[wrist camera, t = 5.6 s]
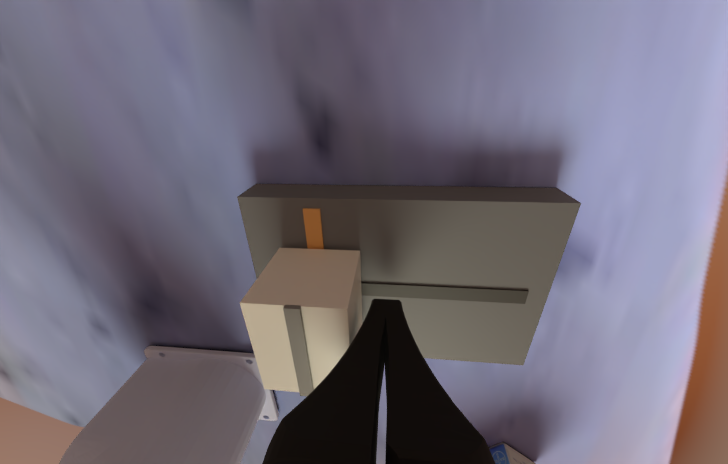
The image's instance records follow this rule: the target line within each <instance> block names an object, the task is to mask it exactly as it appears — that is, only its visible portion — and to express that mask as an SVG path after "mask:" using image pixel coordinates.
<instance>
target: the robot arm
mask: <svg viewBox="0 0 728 464" xmlns="http://www.w3.org/2000/svg"><path fill="white" fill-rule="evenodd" d="M144 353H145V355H146V357H147V360H146V361H145V362H144V363H143V364H142V365H141V366H140V367H139V368H138V369H137V371H136V372H135V373H134V374H133V375H132V376H131V377H130V378H129V379H128V380H127V382H126V383H125V384H124V385H123V386H122V387H121V388H120V389H119V390H118V391H117V392H116V394H115V395H114V396H113V397H112V398H111V399H110V400H109V401H108V402H107V403H106V405H105V406H104V407H103V408H102V409H101V410H100V411H99V412H98V413H97V414H96V416H95V417H94V418H93V419H92V420H91V421H90V422H89V423H88V424H87V425H86V426H85V428H84V429H83V430H82V431H81V432H80V433H79V434H78V436H77V437H76V438H75V439H74V441H73V442H72V443H71V445H70V446H69V448H68V449H67V451H66V452H65V454H64V456H63V457H62V459H61V461H60V463H59V464H240V462H241V460H242V458H243V455H244V453H245V450H246V448H247V445H248V443H249V441H250V438H251V436H252V433H253V431H254V429H255V426H256V424H257V421H258V420H268V421H276V420H277V419H278V416H279V413H278V409H277V405H276V401H275V398H274V394H273V390H269V389H264V386H263V383H262V379H261V376H260V372H259V369H258V365H257V362H256V358H255V355H254V353H242V352H229V351H216V350H202V349H189V348H176V347H163V346H148V347H147V348H146V349H145V350H144ZM384 364H385V376H386V395H387V431H386V464H495V461H494V459H493V456H492V454H491V452H490V449H489V447H488V445H487V443H486V441H485V439H484V438H483V437H482V435H481V434H480V433H479V432H478V431H477V430H476V429H475V428H474V427H473V425H472V424H471V423H470V422H469V421H468V420H467V419H466V417H465V416H464V415H463V414H462V413H461V411H460V410H459V409H458V408H457V406H456V405H455V404H454V403H453V401H452V400H451V398H450V397H449V396H448V394H447V393H446V392H445V390H444V389H443V388H442V386H441V385H440V383H439V382H438V380H437V379H436V377H435V376H434V374H433V373H432V371H431V369H430V368H429V366H428V365H427V363H426V361H425V359H424V358H423V356H422V354H421V352H420V350H419V348H418V346H417V344H416V342H415V340H414V338H413V335H412V333H411V331H410V329H409V326H408V323H407V321H406V318H405V315H404V312H403V308H402V302H401V301H400V300H391V299H373V300H372V302H371V306H370V308H369V311H368V313H367V315H366V318H365V320H364V322H363V324H362V326H361V327H360V329H359V331H358V333H357V335H356V336H355V338H354V339H353V341H352V343H351V344H350V346H349V347H348V349H347V350H346V352H345V353H344V355H343V356H342V357H341V359H340V360H339V361H338V363H337V364H336V365H335V367H334V368H333V369H332V370H331V371H330V373H329V374H328V375H327V376H326V377H325V378H324V380H323V381H322V382H321V383H320V384H319V385H318V386H317V387H316V388H315V389H314V390H313V391H312V392H311V393H310V394H309V395H308V396H307V397H306V398H305V399H304V400H303V401H302V402H301V403H300V404H299V405H298V406H296V407H295V408H294V409H293V410H292V411H291V412H290V413H289V414H287V415H286V416H285V417H284V418H283V419H282V421H281V422H280V424H279V426H278V428H277V430H276V432H275V434H274V436H273V438H272V440H271V442H270V444H269V447H268V449H267V452H266V455H265V458H264V461H263V464H376V452H377V431H378V412H379V401H380V394H381V386H382V379H383V371H384Z"/></svg>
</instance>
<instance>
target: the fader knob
mask: <svg viewBox="0 0 728 464" xmlns="http://www.w3.org/2000/svg"><path fill="white" fill-rule="evenodd" d="M240 306H241V309H242V313H243V316H244V320H245V323H246V327H247V330H248V334H249V337H250V341H251V344H252V348H253V351H254V355H255V358H256V362H257V365H258V369H259V372H260V376H261V379H262V383H263V386H264V389H269V390H281V391H292V392H300V396H308V395H309V394H310V393H311V392H312V391H313V390H314V389H315V388H316V387H317V386H318V385H319V384H320V383H321V382H322V381H323V380H324V378H325V377H326V376H327V375H328V374H329V373H330V371H331V370H332V369H333V368H334V367H335V365H336V364H337V363H338V361H339V360H340V359H341V357H342V356H343V355H344V353H345V352H346V350H347V349H348V347H349V346H350V344H351V343H352V341H353V339H354V338H355V336H356V335H357V333H358V331H359V329H360V327H361V326H362V294H361V260H360V251H357V250H329V249H302V248H279V249H278V251H277V252H276V253H275V255H274V256H273V257H272V259H271V260H270V262H269V263H268V264H267V266H266V267H265V269H264V270H263V271H262V273H261V274H260V275H259V277H258V278H257V280H256V281H255V282H254V284H253V285H252V287H251V288H250V289H249V291H248V292H247V294H246V295H245V296H244V298H243V299H242V300H241V302H240Z"/></svg>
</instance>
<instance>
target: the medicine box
mask: <svg viewBox="0 0 728 464" xmlns="http://www.w3.org/2000/svg"><path fill="white" fill-rule="evenodd" d="M489 449H490V452H491V454H492V456H493V459H494V461H495V464H535V463H534V462H532V461H531V460H529V459H528V458H526V457H525V456H523V455H522V454H520V453H519V452H517V451H516V450H514V449H513V448H511V447H510V446H508V445H507V444H505V443H503V442H501V443H499V444H497V445H494V446H492V447H489Z"/></svg>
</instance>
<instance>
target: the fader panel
mask: <svg viewBox="0 0 728 464" xmlns="http://www.w3.org/2000/svg"><path fill="white" fill-rule="evenodd" d="M237 198H238V202H239V206H240V210H241V214H242V219H243V223H244V227H245V231H246V235H247V240H248V244H249V248H250V252H251V256H252V261H253V265H254V269H255V273H256V277H257V278H258V277H259V275H260V274H261V273H262V271H263V270H264V269H265V267H266V266H267V264H268V263H269V262H270V260H271V259H272V257H273V256H274V255H275V253H276V252H277V251H278V249H279V248H302V249H329V250H357V251H360V260H361V294H362V324H363V322H364V320H365V318H366V315H367V313H368V311H369V308H370V306H371V302H372V300H373V299H391V300H400V301H401V302H402V308H403V312H404V315H405V318H406V321H407V323H408V326H409V329H410V331H411V333H412V335H413V338H414V340H415V342H416V344H417V346H418V348H419V350H420V352H421V354H422V356H423V358H431V359H445V360H459V361H472V362H486V363H500V364H514V365H523V364H524V362H525V359H526V356H527V353H528V350H529V348H530V345H531V342H532V339H533V336H534V333H535V331H536V328H537V325H538V322H539V319H540V317H541V314H542V311H543V308H544V305H545V303H546V300H547V297H548V294H549V291H550V289H551V286H552V283H553V280H554V277H555V275H556V272H557V269H558V266H559V263H560V261H561V258H562V255H563V252H564V249H565V247H566V244H567V241H568V238H569V235H570V233H571V230H572V227H573V224H574V221H575V219H576V216H577V213H578V210H579V207H580V205H581V203H580V202H578V201H577V200H575V199H574V198H572V197H570V196H569V195H567V194H566V193H564V192H563V191H561V190H559V189H558V188H533V187H458V186H384V185H309V184H255V185H254V186H252V187H251V188H249V189H248V190H247V191H245V192H244V193H242V194H241V195H239V196H238V197H237Z"/></svg>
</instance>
